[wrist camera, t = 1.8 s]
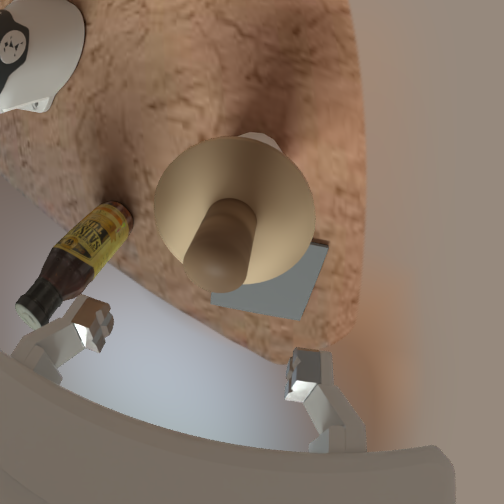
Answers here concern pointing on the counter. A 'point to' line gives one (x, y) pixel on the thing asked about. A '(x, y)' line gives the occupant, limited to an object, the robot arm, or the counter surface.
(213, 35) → the counter surface
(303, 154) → the counter surface
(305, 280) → the mat
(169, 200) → the lid
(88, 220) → the sauce bottle
